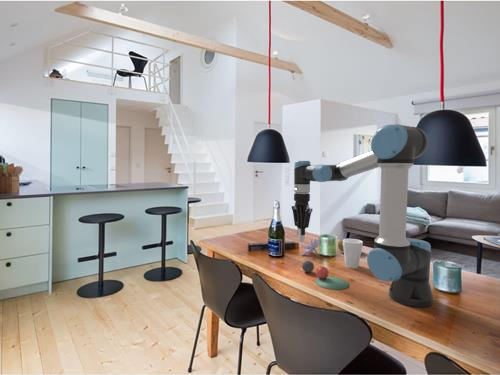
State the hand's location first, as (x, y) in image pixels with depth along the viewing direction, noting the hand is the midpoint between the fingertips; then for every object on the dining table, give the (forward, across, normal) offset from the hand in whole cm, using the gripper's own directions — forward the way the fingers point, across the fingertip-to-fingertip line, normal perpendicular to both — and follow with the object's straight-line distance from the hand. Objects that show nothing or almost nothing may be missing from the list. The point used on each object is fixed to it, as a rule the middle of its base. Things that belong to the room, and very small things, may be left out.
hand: (301, 241), depth 150 cm
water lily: (+14, -16, +21) cm, 30 cm away
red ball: (+11, +15, 0) cm, 19 cm away
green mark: (+14, +21, 0) cm, 25 cm away
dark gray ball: (+11, +5, 0) cm, 12 cm away
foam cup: (+14, +10, +25) cm, 30 cm away
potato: (+14, -8, +43) cm, 46 cm away
